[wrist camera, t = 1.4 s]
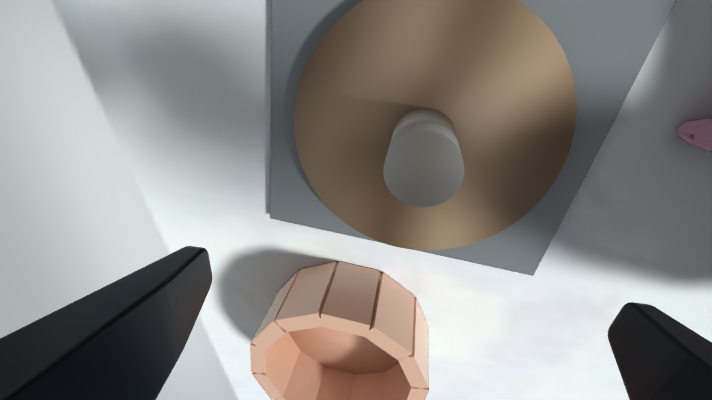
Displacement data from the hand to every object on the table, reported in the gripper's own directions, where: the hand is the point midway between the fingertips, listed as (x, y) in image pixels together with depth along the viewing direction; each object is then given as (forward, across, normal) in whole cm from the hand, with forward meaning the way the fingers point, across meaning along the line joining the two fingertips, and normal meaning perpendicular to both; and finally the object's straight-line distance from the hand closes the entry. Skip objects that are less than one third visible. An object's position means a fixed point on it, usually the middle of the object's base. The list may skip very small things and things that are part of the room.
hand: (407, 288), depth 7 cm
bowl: (+12, +2, +15) cm, 19 cm away
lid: (+11, -1, 0) cm, 11 cm away
